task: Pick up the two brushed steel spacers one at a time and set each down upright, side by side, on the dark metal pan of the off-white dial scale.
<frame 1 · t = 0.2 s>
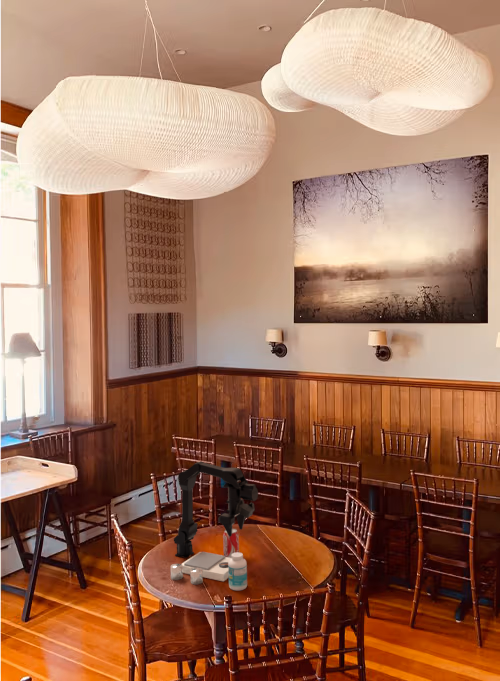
hand: (235, 532, 268), 15 cm above the table, tool pointing down, fingers open, 9 cm apart
spacer a: (176, 577, 258), on the table
pill bottle: (238, 587, 247), on the table
spacer b: (196, 582, 253), on the table
scale: (211, 569, 265), on the table
soda can: (231, 556, 279), on the table
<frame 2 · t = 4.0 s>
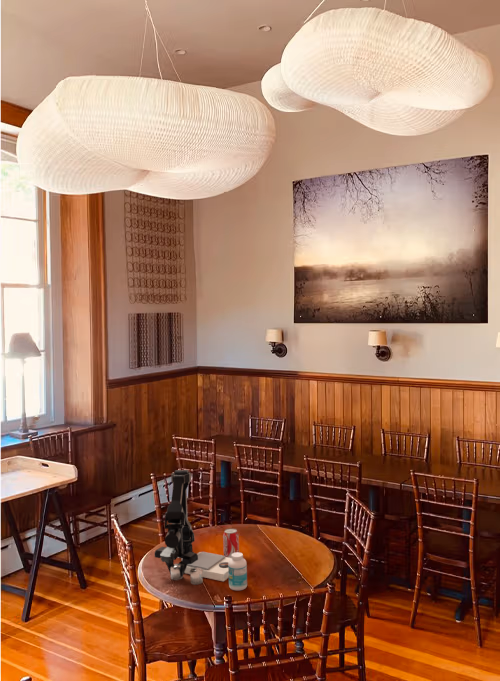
hand: (176, 575, 258), 1 cm above the table, tool pointing down, fingers closed on spacer a, 5 cm apart
spacer a: (176, 577, 258), on the table, touching gripper
everything else where it was.
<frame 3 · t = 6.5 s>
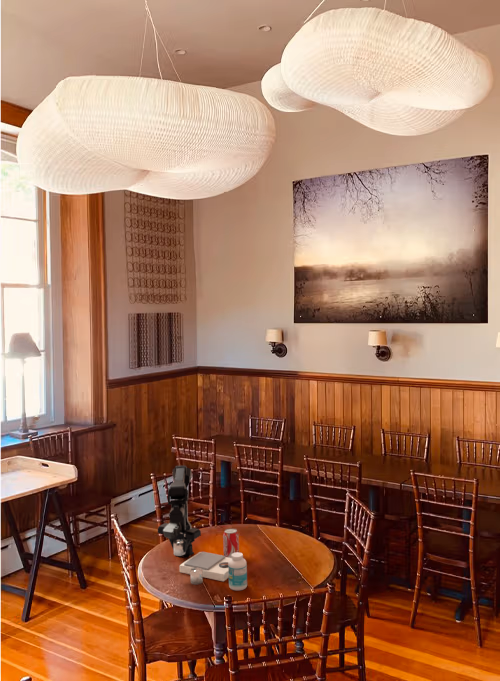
hand: (179, 551, 259), 11 cm above the table, tool pointing down, fingers closed on spacer a, 5 cm apart
spacer a: (179, 553, 259), point 10 cm above the table, touching gripper
everything else where it was.
when the fingers open (6 cm above the table, at t = 8.9 s): spacer a drops 1 cm, resting on scale.
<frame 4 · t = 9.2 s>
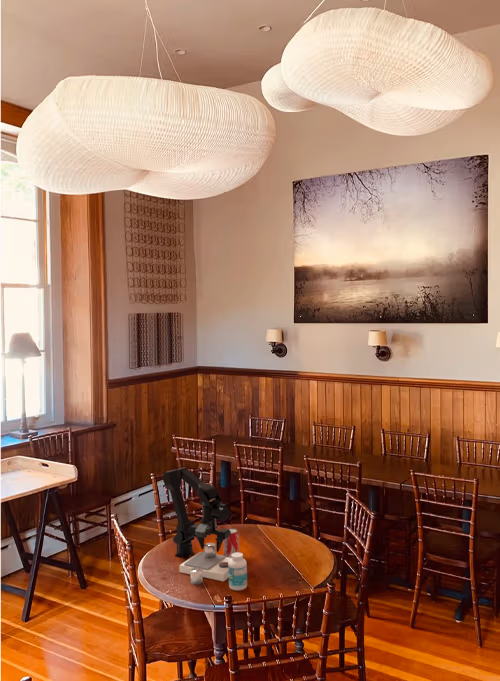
hand: (210, 550, 270), 6 cm above the table, tool pointing down, fingers open, 8 cm apart
spacer a: (210, 555, 270), point 4 cm above the table, touching scale
everything else where it was.
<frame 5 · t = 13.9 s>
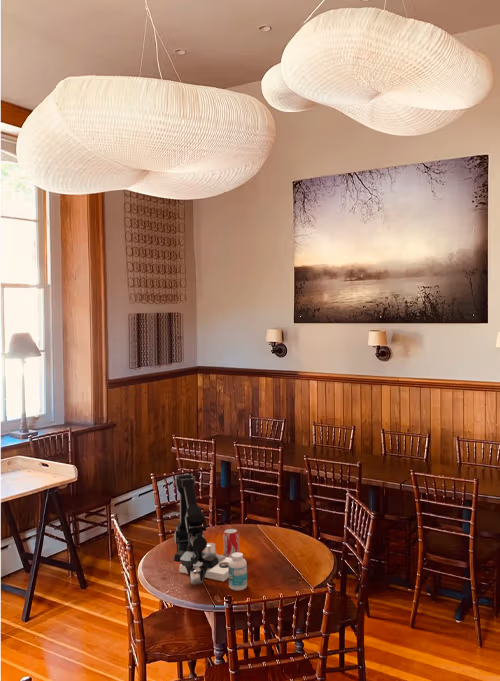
hand: (196, 579, 253), 1 cm above the table, tool pointing down, fingers closed on spacer b, 5 cm apart
spacer b: (196, 581, 253), on the table, touching gripper
everything else where it was.
when the fingers open (6 cm above the table, at t = 18.1 s): spacer b drops 1 cm, resting on scale.
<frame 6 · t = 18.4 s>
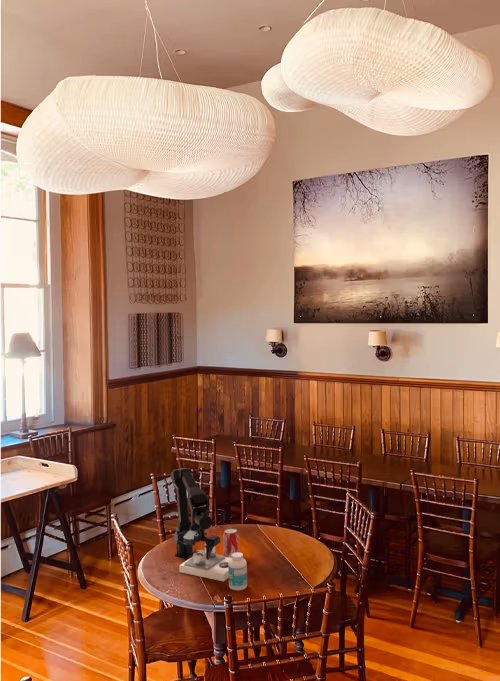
hand: (199, 557, 262), 6 cm above the table, tool pointing down, fingers open, 8 cm apart
spacer b: (199, 563, 262), point 4 cm above the table, touching scale
everything else where it was.
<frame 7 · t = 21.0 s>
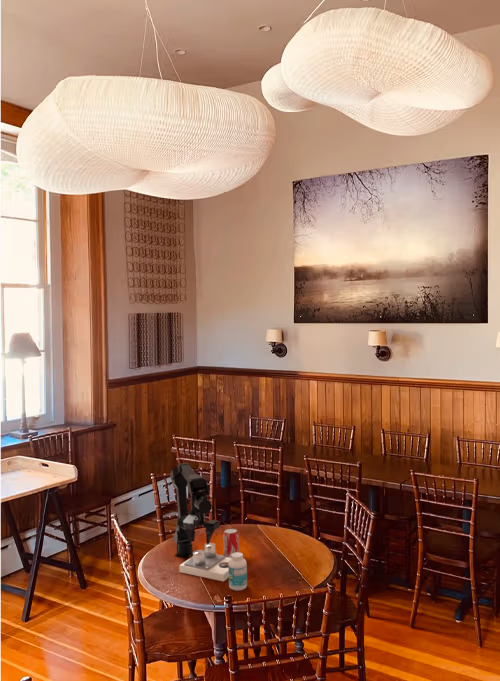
hand: (198, 542, 262), 13 cm above the table, tool pointing down, fingers open, 9 cm apart
nothing on the table moved.
at the end: spacer a inside the target area on the scale (4.5 cm from its centre), point 3.8 cm above the scale's base; spacer b inside the target area on the scale (4.5 cm from its centre), point 3.8 cm above the scale's base; the gripper is holding nothing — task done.
